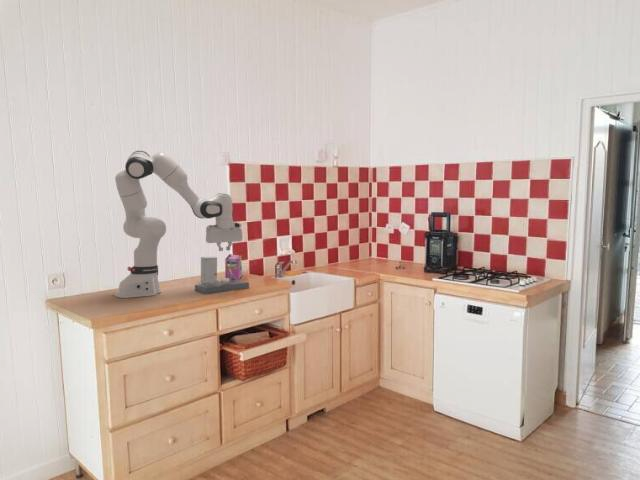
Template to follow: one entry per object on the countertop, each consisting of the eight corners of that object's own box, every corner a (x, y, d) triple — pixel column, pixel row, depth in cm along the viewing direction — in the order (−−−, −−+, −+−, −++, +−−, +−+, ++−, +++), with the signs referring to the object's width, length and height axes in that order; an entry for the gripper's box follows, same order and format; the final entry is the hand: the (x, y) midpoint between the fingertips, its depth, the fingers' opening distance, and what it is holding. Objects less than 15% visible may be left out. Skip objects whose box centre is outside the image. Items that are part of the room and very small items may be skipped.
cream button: (223, 283, 259) (223, 279, 258) (219, 281, 262) (219, 278, 262) (230, 282, 261) (230, 278, 261) (226, 281, 265) (226, 277, 265)
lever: (232, 281, 271) (227, 265, 269) (230, 280, 273) (225, 265, 270) (236, 279, 273) (230, 263, 270) (234, 278, 275) (228, 263, 272)
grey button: (209, 284, 253) (209, 281, 253) (205, 283, 257) (205, 280, 257) (217, 283, 256) (217, 280, 256) (213, 282, 260) (213, 279, 259)
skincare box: (203, 283, 281) (203, 257, 280) (200, 281, 286) (200, 256, 285) (217, 282, 285) (217, 256, 284) (214, 280, 290) (214, 255, 289)
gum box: (229, 275, 311) (229, 253, 310) (242, 275, 312) (242, 253, 310) (225, 281, 287) (224, 258, 286) (238, 281, 288) (238, 258, 287)
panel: (205, 294, 251) (205, 288, 251) (194, 290, 260) (194, 284, 260) (248, 287, 268) (248, 282, 268) (237, 284, 277) (237, 279, 277)
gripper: (209, 225, 250) (209, 252, 251) (243, 224, 263) (244, 249, 264) (203, 224, 255) (203, 251, 256) (237, 223, 268) (237, 248, 269)
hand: (224, 250), depth 260 cm, fingers open, 3 cm apart
